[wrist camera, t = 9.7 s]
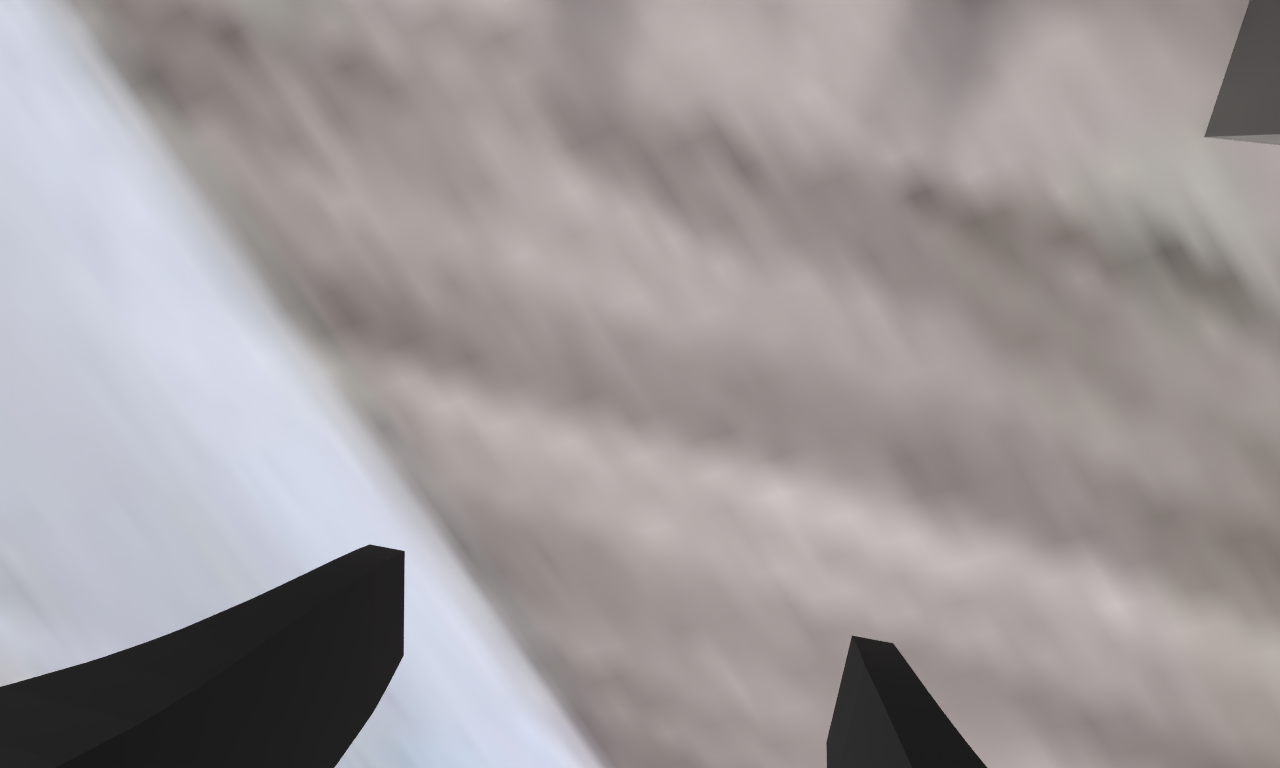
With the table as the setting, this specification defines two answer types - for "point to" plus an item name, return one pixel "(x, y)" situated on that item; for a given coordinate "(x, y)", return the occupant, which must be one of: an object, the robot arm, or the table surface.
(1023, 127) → the table surface
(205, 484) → the table surface
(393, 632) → the robot arm
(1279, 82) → the flat slat
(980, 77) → the table surface
